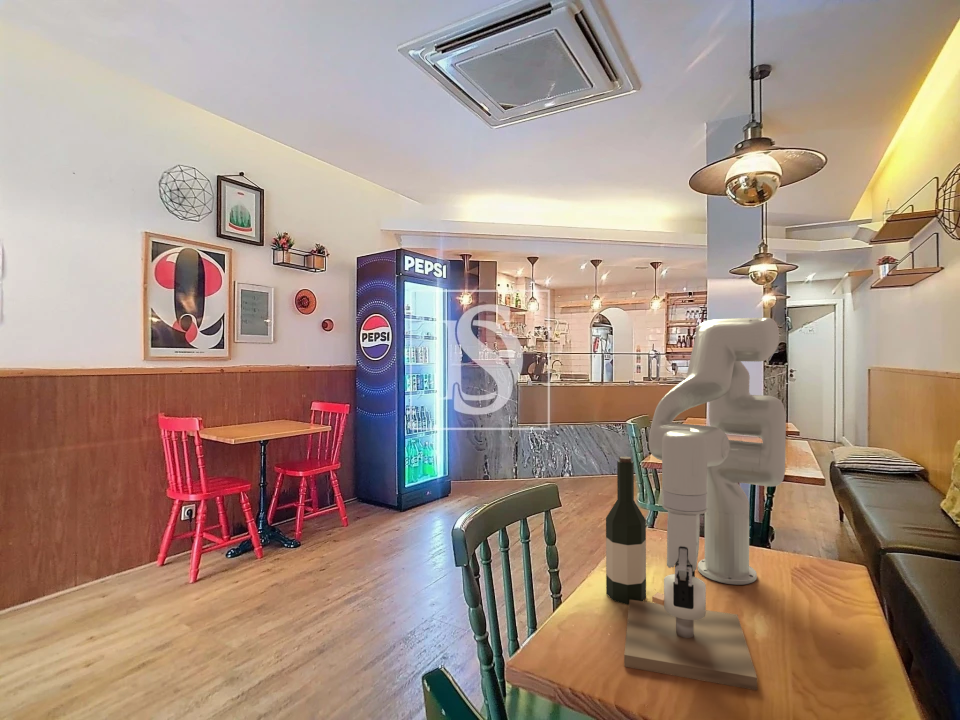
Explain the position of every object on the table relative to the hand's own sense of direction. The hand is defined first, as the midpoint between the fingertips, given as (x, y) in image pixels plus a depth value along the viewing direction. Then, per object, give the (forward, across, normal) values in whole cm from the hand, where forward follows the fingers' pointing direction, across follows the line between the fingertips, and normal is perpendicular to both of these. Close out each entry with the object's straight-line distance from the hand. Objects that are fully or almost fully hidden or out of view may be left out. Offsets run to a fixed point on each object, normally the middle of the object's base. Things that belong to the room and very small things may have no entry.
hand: (684, 594), depth 93 cm
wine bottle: (+9, -15, -12) cm, 22 cm away
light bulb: (+3, 0, -1) cm, 3 cm away
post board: (+9, 0, 0) cm, 9 cm away
